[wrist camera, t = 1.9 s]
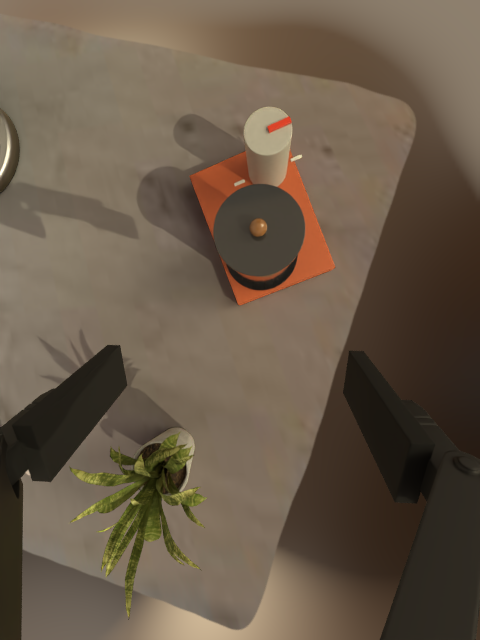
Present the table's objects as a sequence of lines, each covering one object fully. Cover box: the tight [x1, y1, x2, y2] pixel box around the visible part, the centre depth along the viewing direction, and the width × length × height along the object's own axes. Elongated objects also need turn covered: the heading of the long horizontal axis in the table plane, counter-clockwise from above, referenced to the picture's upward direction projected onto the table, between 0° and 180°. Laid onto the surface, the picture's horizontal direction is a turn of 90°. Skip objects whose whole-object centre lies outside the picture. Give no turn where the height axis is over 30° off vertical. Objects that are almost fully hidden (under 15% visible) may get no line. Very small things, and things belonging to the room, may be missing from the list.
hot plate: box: [190, 151, 335, 305], centre depth 36 cm, size 19×14×2 cm
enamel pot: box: [213, 184, 305, 285], centre depth 29 cm, size 8×8×11 cm
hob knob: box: [244, 107, 292, 187], centre depth 31 cm, size 5×5×8 cm
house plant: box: [69, 428, 207, 617], centre depth 30 cm, size 14×14×16 cm
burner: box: [226, 255, 298, 290], centre depth 35 cm, size 9×9×1 cm
